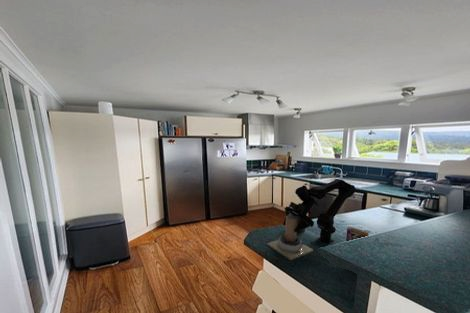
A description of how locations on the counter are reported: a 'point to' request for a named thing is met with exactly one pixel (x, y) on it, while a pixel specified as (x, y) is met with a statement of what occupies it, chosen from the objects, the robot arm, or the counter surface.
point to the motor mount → (290, 248)
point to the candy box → (355, 233)
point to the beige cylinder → (290, 228)
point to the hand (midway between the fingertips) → (288, 228)
